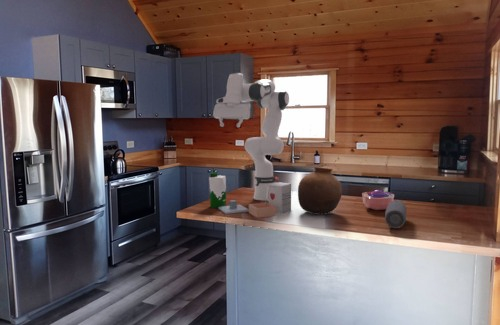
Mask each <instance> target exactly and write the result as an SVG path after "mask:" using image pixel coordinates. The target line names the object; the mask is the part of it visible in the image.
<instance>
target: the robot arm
mask: <svg viewBox="0 0 500 325" xmlns="http://www.w3.org/2000/svg"><path fill="white" fill-rule="evenodd" d="M215 102H216V104H215V105H214V108H213V112H212V113H213V115H212V117H214V119H218V121H219V126H220V127H223V128H224V127H225V123H224V122H223V120H224V119H225V120H238V122H237V123H236V127H237V128H240V127H241V124H242V123H243V122H244V121H243V120H249V119H250V117H251V107H252V105H251V103H250V102H256V105H257V107H258V108H259V109H268V110H267V112H266V114H265V116H264V118H263V121H262V125H261V127H260V131H261V134H263V135H264V136H256V137H255V136H254V137H253V136H252V137H249V138H247V139H246V140H245V142H244V149H245V152H246V153H247V154H249V155H250V158H252V161H253V163H254V170H255V176H254V194H253V198H252V199H254V200H256V201H265V202H266V201H267V202H269V184H272V183H277V182H276V181H279V177H278V176H274V165H273V163H272V162H271V161H270V160H268V159H267V158H266V156H267V155H268V156H276V155H280V154H281V153H283V151H284V147H285V144H284V141H283V140H282V139H281V138H280V137H279V135H278V134H279V129H280V126H281V124H282V123H281V122H282V117H283V116H282V114H283V113H282V111H284V110H285V108H287V106H288V104H289V102H290V95H289V93H288V92H287V91H285V90H276V84H275V82H274V81H272V80H270V79H264V78H263V79H259V80H256V81H254V82H253V83H245V82H244V74H243V73H240V72H233V73H230V74H229V76H228V79H227V83H226V93H225V96H223V97H220V98H217V99H216V101H215Z"/></svg>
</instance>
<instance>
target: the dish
mask: <svg viewBox="0 0 500 325" xmlns="http://www.w3.org/2000/svg"><path fill="white" fill-rule="evenodd" d="M248 213H249V214H250V215H251V216H253V217H255V218H256V219H260V218H263V217H264V218H268V217H272V216H273V217H277V211H276V206H274V205H271V204H269V202H260V203H250V204H248Z"/></svg>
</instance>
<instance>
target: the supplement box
mask: <svg viewBox="0 0 500 325" xmlns="http://www.w3.org/2000/svg"><path fill="white" fill-rule="evenodd" d="M268 203H269V204H271V205H274V206H276V213H281V214H282V213H283V214H284V213H286V212H289V211H292V183H288V182H280V181H279V182H278V181H277V182H276V183H272V184H269V201H268Z"/></svg>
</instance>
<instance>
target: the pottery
mask: <svg viewBox="0 0 500 325" xmlns="http://www.w3.org/2000/svg"><path fill="white" fill-rule="evenodd" d="M313 168H314V171H312V172H310V173H308V174H307V175H305V176H303V177H302V178H301V180H300V182H299V184H298V188H297V197H298V198H297V200H298V204H299V206H300V207H301V209H302V210H303V211H305V212H307V213H309V214H315V215H327V214H329V213H331V212H333V211H334V210H335V209H336V208H337V207H338V205H339V203H340V200H341V198H342V194H343V186H342V184H341V182H340V180H339V179H338V178H337V177H336V176H335V175H334V174H332V172H333V170H334V169H332V168H327V167H326V168H325V167H317V166H314V167H313Z"/></svg>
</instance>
